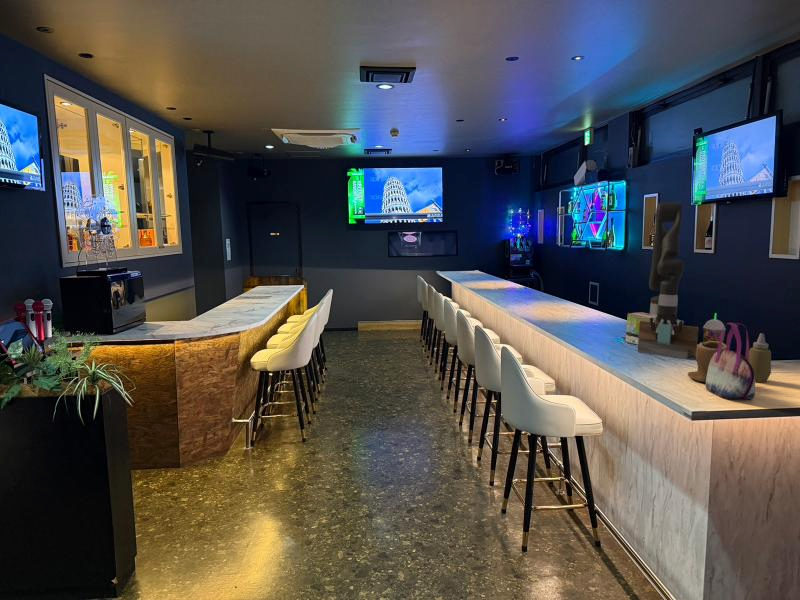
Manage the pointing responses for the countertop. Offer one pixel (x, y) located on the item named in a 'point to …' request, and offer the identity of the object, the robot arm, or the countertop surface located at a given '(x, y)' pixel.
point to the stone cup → (704, 359)
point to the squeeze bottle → (760, 359)
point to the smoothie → (713, 330)
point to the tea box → (636, 325)
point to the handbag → (731, 370)
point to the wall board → (679, 348)
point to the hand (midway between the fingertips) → (664, 341)
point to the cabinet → (664, 334)
